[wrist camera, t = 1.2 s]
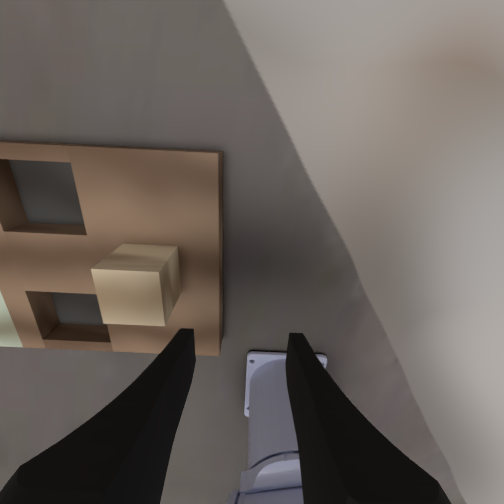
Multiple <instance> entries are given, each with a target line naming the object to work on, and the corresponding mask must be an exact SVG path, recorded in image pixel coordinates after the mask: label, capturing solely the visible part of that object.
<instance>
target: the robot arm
mask: <svg viewBox="0 0 504 504" xmlns="http://www.w3.org/2000/svg"><path fill="white" fill-rule="evenodd" d="M195 362H196V356H195V339H194V329H191V328H181V329H179V330H178V332H177V333H176V334H175V336H174V337H173V338H172V339H171V341H170V342H169V343H168V344H167V346H166V347H165V348H164V349H163V350H162V352H161V353H160V354H159V355H158V356H157V357H156V358H155V360H154V361H153V362H152V363H151V364H150V365H149V366H148V367H147V368H146V369H145V370H144V371H143V372H142V373H141V375H140V376H139V377H138V378H137V379H136V380H135V381H134V382H133V383H132V384H131V385H129V386H128V387H127V388H126V389H125V390H124V391H123V392H122V393H121V394H120V395H119V396H117V397H116V398H115V399H114V400H113V401H112V402H110V403H109V404H108V405H107V406H106V407H104V408H103V409H102V410H101V411H100V412H98V413H97V414H96V415H95V416H93V417H92V418H91V419H89V420H88V421H87V422H85V423H84V424H83V425H81V426H80V427H78V428H77V429H76V430H74V431H73V432H72V433H70V434H69V435H67V436H66V437H65V438H63V439H62V440H60V441H59V442H57V443H56V444H54V445H53V446H51V447H50V448H48V449H46V450H45V451H43V452H42V453H40V454H39V455H37V456H35V457H34V458H32V459H31V460H29V461H28V462H26V463H24V464H23V465H21V466H20V467H19V468H18V469H17V471H16V472H15V473H14V474H13V476H12V477H11V478H10V479H9V481H8V482H7V483H6V485H5V486H4V487H3V489H2V490H1V492H0V504H160V500H161V495H162V491H163V486H164V481H165V477H166V472H167V467H168V463H169V458H170V454H171V449H172V445H173V441H174V438H175V434H176V431H177V427H178V424H179V421H180V418H181V415H182V411H183V408H184V405H185V402H186V399H187V395H188V392H189V389H190V386H191V382H192V377H193V373H194V367H195ZM326 364H327V357H326V356H325V355H321V354H315V353H314V351H313V350H312V348H311V346H310V345H309V343H308V341H307V339H306V338H305V336H304V335H303V333H289V340H288V347H287V353H277V352H255V351H251V352H249V353H248V354H247V370H246V390H245V410H244V415H245V416H247V417H249V432H248V470H247V471H243V472H241V475H240V489H239V490H234V491H232V492H231V493H230V495H229V497H228V500H227V502H226V503H225V504H451V502H450V501H449V499H448V497H447V496H446V494H445V492H444V491H443V489H442V488H441V486H440V484H439V483H438V481H437V480H435V479H434V478H433V477H432V476H430V475H429V474H428V473H427V472H426V471H424V470H423V469H422V468H421V467H419V466H418V465H417V464H416V463H414V462H413V461H412V460H411V459H409V458H408V457H407V456H406V455H404V454H403V453H402V452H401V451H400V450H399V449H398V448H397V447H395V446H394V445H393V444H392V443H391V442H390V441H389V440H388V439H387V438H386V437H384V436H383V435H382V434H381V433H380V432H379V431H378V430H377V429H376V428H375V427H374V426H373V425H372V424H371V423H370V422H369V421H368V420H367V419H366V418H365V417H364V416H363V415H362V414H361V413H360V411H359V410H358V409H357V408H356V407H355V406H354V405H353V404H352V403H351V401H350V400H349V399H348V398H347V397H346V396H345V394H344V393H343V392H342V391H341V389H340V388H339V387H338V386H337V384H336V383H335V382H334V380H333V379H332V378H331V376H330V375H329V374H328V372H327V371H326Z"/></svg>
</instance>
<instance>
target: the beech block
mask: <svg viewBox="0 0 504 504" xmlns="http://www.w3.org/2000/svg"><path fill="white" fill-rule="evenodd" d="M91 272H92V276H93V281H94V285H95V289H96V294H97V298H98V302H99V307H100V311H101V315H102V320H103V324H124V325H146V326H165V325H166V323H167V321H168V319H169V317H170V315H171V313H172V311H173V309H174V307H175V305H176V303H177V301H178V298H179V296H180V294H181V283H180V270H179V257H178V246H163V245H142V244H122V245H120V246H119V247H118V248H117V249H115V250H114V251H113V252H112V253H110V254H109V255H108V256H107V257H105V258H104V259H103V260H101V261H100V262H99V263H98V264H96V265H95V266H94V267H93V268H91Z"/></svg>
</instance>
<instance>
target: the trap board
mask: <svg viewBox="0 0 504 504" xmlns="http://www.w3.org/2000/svg"><path fill="white" fill-rule="evenodd" d="M122 244H142V245H163V246H178V257H179V270H180V283H181V294H180V296H179V298H178V301H177V303H176V305H175V307H174V309H173V311H172V313H171V315H170V317H169V319H168V321H167V323H166V325H165V326H146V325H124V324H103V320H102V315H101V311H100V307H99V302H98V298H97V294H96V289H95V285H94V281H93V276H92V272H91V268H93V267H94V266H95V265H96V264H98V263H99V262H100V261H101V260H103V259H104V258H105V257H107V256H108V255H109V254H110V253H112V252H113V251H114V250H115V249H117V248H118V247H119V246H120V245H122ZM181 328H191V329H194V339H195V355H206V356H220V350H221V344H222V338H223V151H205V150H185V149H164V148H144V147H124V146H104V145H84V144H64V143H44V142H24V141H3V140H0V346H6V347H28V348H50V349H72V350H95V351H117V352H139V353H161V352H162V350H163V349H164V348H165V347H166V346H167V344H168V343H169V342H170V341H171V339H172V338H173V337H174V336H175V334H176V333H177V332H178V330H179V329H181Z"/></svg>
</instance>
